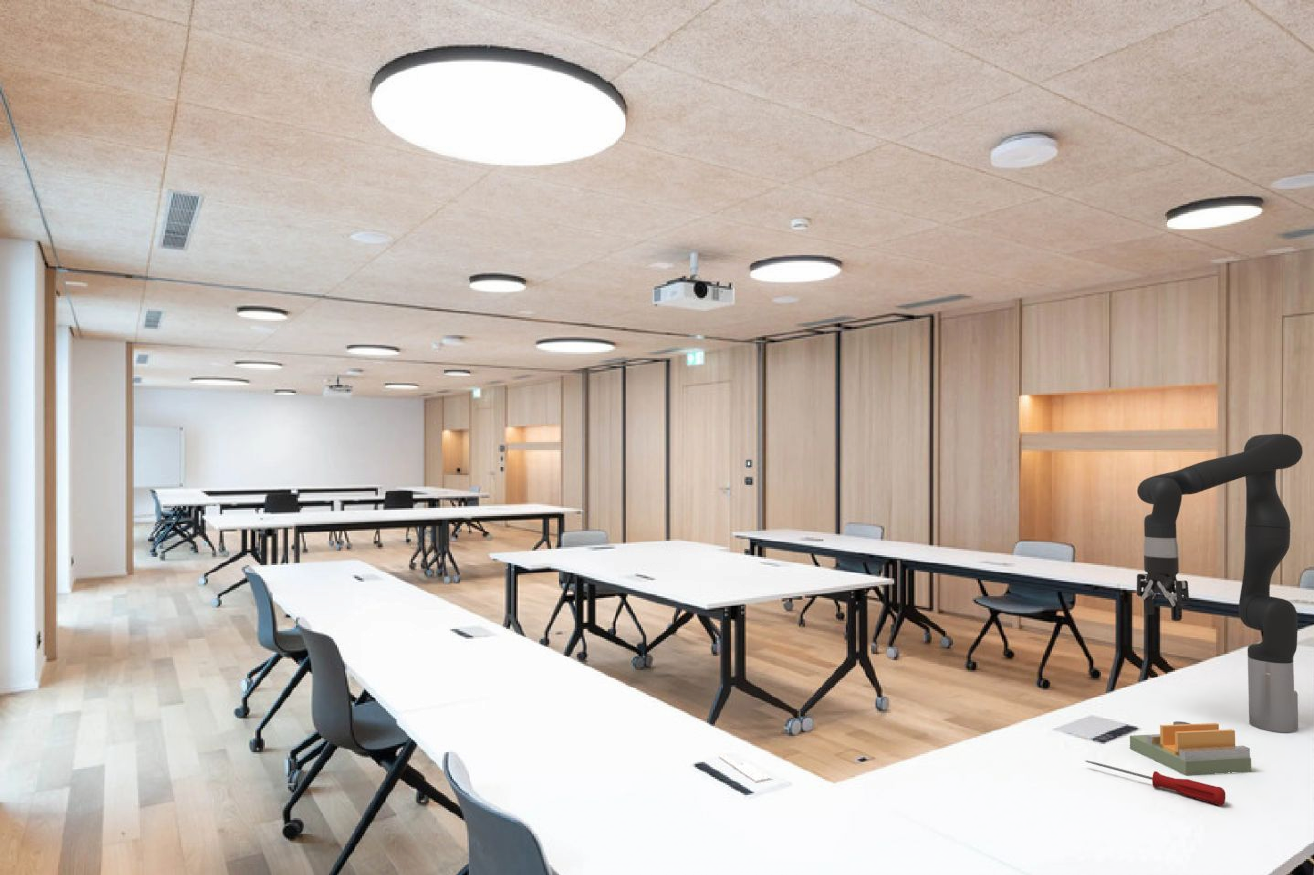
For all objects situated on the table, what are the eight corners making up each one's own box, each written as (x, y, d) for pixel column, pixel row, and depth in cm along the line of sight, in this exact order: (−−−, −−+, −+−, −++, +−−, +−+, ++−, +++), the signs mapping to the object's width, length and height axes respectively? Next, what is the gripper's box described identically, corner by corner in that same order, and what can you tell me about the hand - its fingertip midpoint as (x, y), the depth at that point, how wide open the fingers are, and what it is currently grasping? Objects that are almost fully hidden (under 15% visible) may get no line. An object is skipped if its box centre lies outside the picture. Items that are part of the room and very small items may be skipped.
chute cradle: (1208, 740, 178) (1208, 731, 178) (1249, 757, 167) (1249, 748, 167) (1147, 743, 175) (1146, 734, 176) (1184, 761, 165) (1184, 751, 165)
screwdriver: (1088, 766, 170) (1088, 750, 170) (1226, 804, 151) (1226, 785, 151) (1082, 771, 167) (1082, 754, 167) (1222, 809, 149) (1222, 790, 149)
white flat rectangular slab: (738, 756, 175) (738, 751, 175) (775, 781, 162) (775, 775, 162) (719, 759, 173) (719, 754, 173) (755, 785, 159) (755, 779, 159)
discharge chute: (1216, 745, 175) (1215, 723, 175) (1235, 753, 170) (1234, 730, 170) (1160, 747, 173) (1160, 725, 173) (1178, 755, 168) (1177, 732, 168)
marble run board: (1190, 745, 183) (1189, 719, 183) (1251, 771, 167) (1250, 744, 167) (1129, 748, 181) (1129, 722, 181) (1186, 775, 165) (1185, 747, 165)
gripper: (1196, 557, 192) (1198, 622, 192) (1151, 551, 206) (1153, 611, 206) (1170, 558, 191) (1172, 623, 191) (1127, 551, 205) (1128, 612, 205)
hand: (1162, 617), depth 198 cm, fingers open, 8 cm apart
